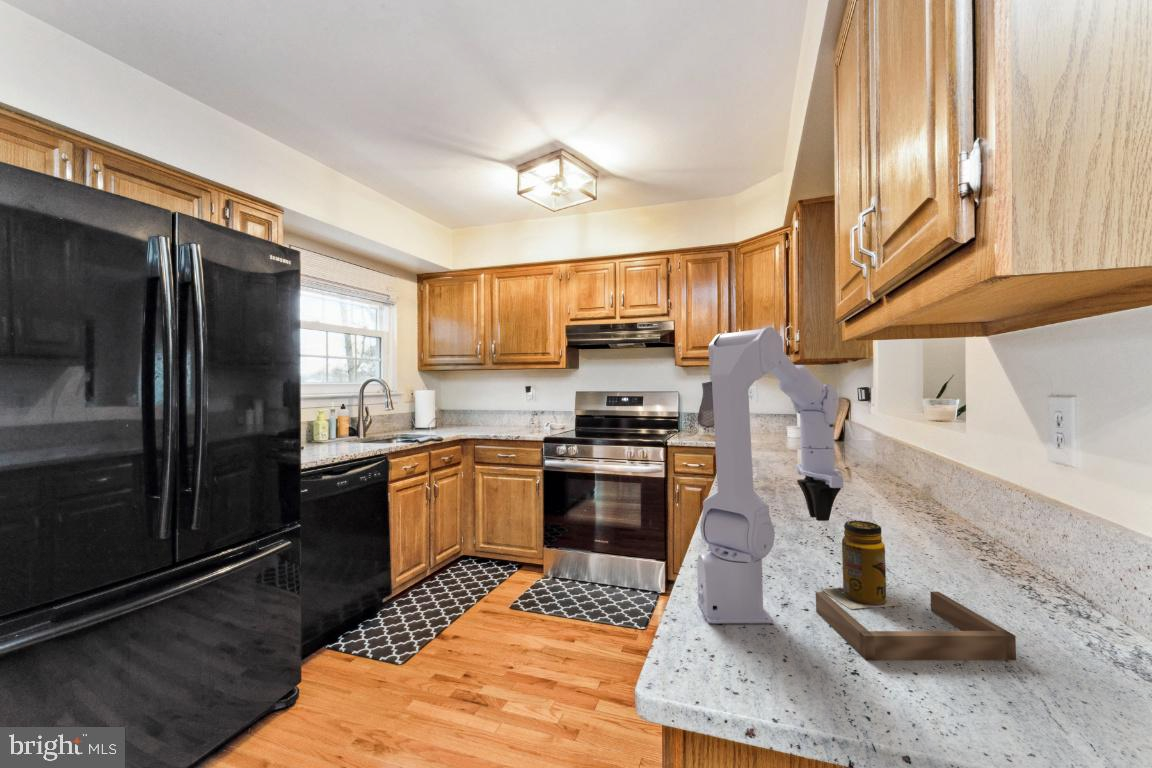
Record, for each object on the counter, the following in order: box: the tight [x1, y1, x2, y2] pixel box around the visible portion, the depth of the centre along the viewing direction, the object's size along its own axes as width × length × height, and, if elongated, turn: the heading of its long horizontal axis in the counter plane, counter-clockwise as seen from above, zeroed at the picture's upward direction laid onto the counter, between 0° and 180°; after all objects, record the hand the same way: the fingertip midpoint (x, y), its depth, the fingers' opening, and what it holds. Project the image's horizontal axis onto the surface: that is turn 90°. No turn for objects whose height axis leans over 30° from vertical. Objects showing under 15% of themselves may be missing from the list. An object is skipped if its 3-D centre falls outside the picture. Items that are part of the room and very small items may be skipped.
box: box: [815, 590, 1017, 661], centre depth 66 cm, size 18×13×3 cm
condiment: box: [821, 520, 901, 610], centre depth 78 cm, size 7×8×12 cm
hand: (819, 518), depth 91 cm, fingers closed
